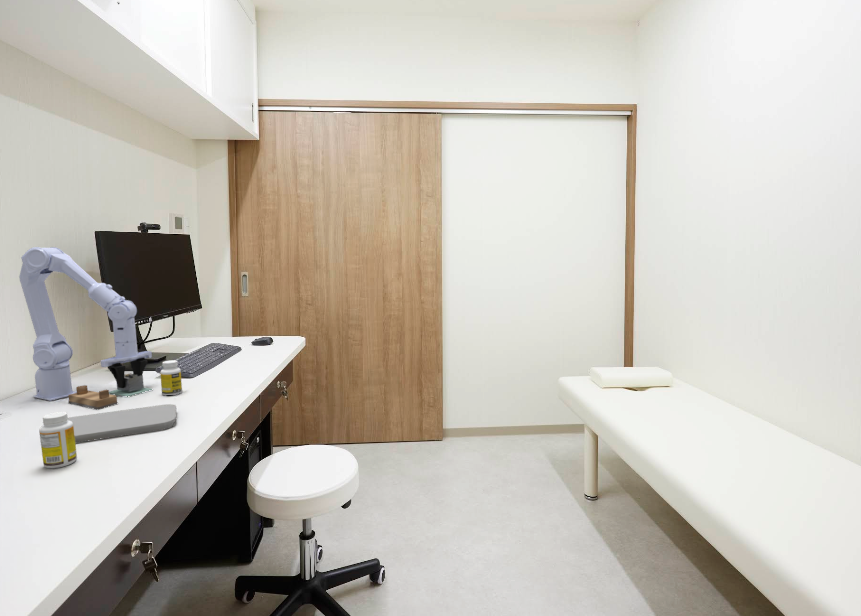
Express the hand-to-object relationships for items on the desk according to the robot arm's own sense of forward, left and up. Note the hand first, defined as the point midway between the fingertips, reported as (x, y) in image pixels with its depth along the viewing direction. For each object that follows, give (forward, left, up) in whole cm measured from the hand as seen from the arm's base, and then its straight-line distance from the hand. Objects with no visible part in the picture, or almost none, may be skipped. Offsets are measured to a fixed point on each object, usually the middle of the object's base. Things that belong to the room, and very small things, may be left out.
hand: (129, 385), depth 156 cm
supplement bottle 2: (+14, +4, -2) cm, 15 cm away
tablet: (+28, -21, -3) cm, 35 cm away
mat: (0, 0, -2) cm, 2 cm away
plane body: (+2, -12, -2) cm, 12 cm away
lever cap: (0, 0, -1) cm, 1 cm away
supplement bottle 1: (+39, -39, -2) cm, 55 cm away
